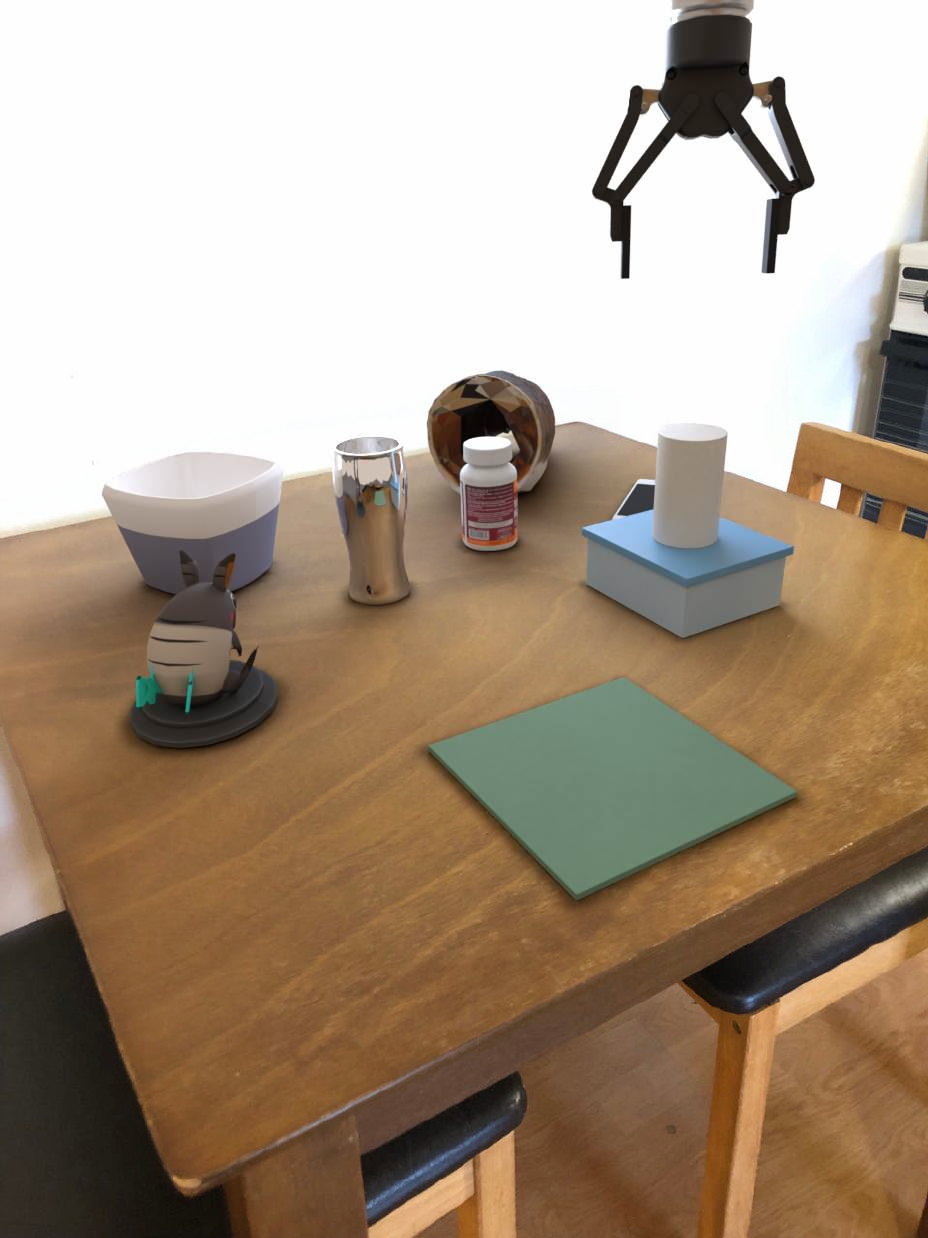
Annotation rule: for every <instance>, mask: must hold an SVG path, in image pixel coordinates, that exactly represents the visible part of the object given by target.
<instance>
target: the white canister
mask: <svg viewBox="0 0 928 1238" xmlns="http://www.w3.org/2000/svg"><path fill="white" fill-rule="evenodd" d="M727 445H728V431H727V430H726V429H725V428H723V427H721V426H718V425H714V424H707V423H699V422H698V423H697V422H681V423H673V424H668V425H664V426H662V427H660V428H659V429H658V432H657V446H656V447H657V448H656V462H655V463H656V465H655V479H654V480H655V495H654V511H653V527H652V537H653V539H654V540H655V541H657V542H659V543H661V544H663V545H666V546H670V547H676V548H701V547H706V546H709V545H712V544H714V543H715V542H716V541H717V539H718V529H719V518H720V517H721V506H722V497H723V485H724V474H725V465H726V454H727Z"/></svg>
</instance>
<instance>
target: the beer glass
mask: <svg viewBox="0 0 928 1238" xmlns="http://www.w3.org/2000/svg"><path fill="white" fill-rule="evenodd" d="M331 451H332V483H333V495H334V501H335V508H336V512H337V517H338V520H339V523H340V527H341V531H342V534H343V537H344V542H345V545H346V549H347V552H348V558H349V569H350V570H349V581H348V596H349V597H350V599H351V600H353V601H355V602H356V603H359V604H363V605H368V606H369V605H370V606H371V605H373V606H377V605H378V606H380V605H387V604H392V603H396V602H399V601H401V600H403V599H405V598H406V597H407V596H409V593H410V591H411V585H410V581H409V577H408V574H407V570H406V566H405V554H404V553H405V549H404V548H405V540H406V539H405V538H406V530H407V529H406V528H407V523H408V512H409V511H408V508H409V484H408V483H409V482H408V473H407V466H406V458H405V451H404V442H403V441H402V440H401V439H400V438H397V437H393V436H389V435H377V434H376V435H359V436H352V437H349V438H344V439H341V440H338V441H337V442H335V443H333V445H332V447H331Z"/></svg>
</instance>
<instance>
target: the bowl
mask: <svg viewBox="0 0 928 1238" xmlns="http://www.w3.org/2000/svg"><path fill="white" fill-rule="evenodd" d="M283 477H284V470H283V468H282V466H281V465H280V464H279V463H278V462H277V461H275V460H273V459H272V460H271V459H269V458H265V457H260V456H256V455H250V454H244V453H237V452H236V453H235V452H225V451H208V450H186V451H182V452H178V453H174V454H169V455H167V456H163V457H160V458H157V459H154V460H151V461H148V462H145V463H143V464H140V465H138V466H135V467H132V468H130V469H128V470H126V471H124V472H122V473H119V474H117V475H116V476H114V477H112V478H111V479H109V480H108V481H107V482H105V484H104V485H103V488H102V490H101V496H102V498H103V500H104V502H105V504H106V506H107V509H108V510H109V512H110V514H111V517H112V519H113V520H114V523H115V524H116V525H117V528H118V530H119V532H120V534H121V535H122V538H123V540H124V542H125V544H126V546H127V548H128V550H129V552H130V554H131V556H132V558H133V560H134V562H135V565H136V566H137V568H138V571H139V572H140V574H141V577H142V579H143V581H144V583H145V584H146V585H148V586H149V587H152V588H154V589H157V590H159V591H163V592H165V593H169V594H173V595H177V594H178V593H180V592H181V591H183V590H184V589H186V588H187V587H186V585H185V582H184V579H183V575H182V572H181V566H180V554H179V551H180V550H183V551H185V552H186V553H187V554H188V555H189V556H190V557H191V558H193V559H194V560H195V561H196V563H197V564H198V567H199V574H200V582H201V583H206V582H210V583H213V575H214V570H215V568H216V566H217V564H218V563H219V562H220V561H221V560H223V559H224V558H225V557H227V556H228V555H230V554H232V553H235V554H236V557H235V562H234V568H233V572H232V576H231V579H230V582H229V586H228V590H229V591H230V592H231V593H233V592H234V591H237V590H239V589H241V588H243V587H245V586H247V585H248V584H250V583H252V582H254V581H256V580H257V579H258V578H260V577H261V576H262V575H263V574H264V573H265V572H266V571H267V570H269V569H270V567H271V566H272V564H273V559H274V558H273V557H274V551H275V550H274V549H275V543H276V542H275V541H276V534H277V525H278V517H279V507H280V502H281V494H282V487H283V486H282V485H283Z"/></svg>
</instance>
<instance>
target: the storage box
mask: <svg viewBox="0 0 928 1238" xmlns="http://www.w3.org/2000/svg"><path fill="white" fill-rule="evenodd" d="M653 511H654V509H653V510H649V511H645V512H641V513H638V514H634V515H630V516H626V517H622V518H618V519H614V520H612V519H610V520H606V521H603V522H598V523H595V524H591V525H586V526H584V527H581V535H582V536H583V537H584V538H587V553H586V582H585V583H586V585H587V586H589V587H591V588H593V589H594V590H596V591H598V592H599V593H601V594H603V595H605V596H607V597H608V598H610V599H612V600H614V601H616V602H617V603H618V604H621V605H622V606H624V607H627V609H630V610H631V611H633V612H635V613H637V614H639V615H640V616H642V617H644V618H646V619H647V620H649V621H651V622H652V623H655V624H656V625H658V626H660V627H661V628H663V629H665V630H666V631H669V632H671V633H673V634H674V635H676V636H678V637H679V638H681V639H685V638H688V637H691V636H693V635H697V634H700V633H702V632H705V631H708V630H711V629H715V628H718V627H720V626H723V625H726V624H729V623H732V622H735V621H737V620H742V619H743V618H746V617H749V616H752V615H756V614H759V613H762V612H765V611H767V610H770V609H772V608H773V609H774V608H776V607H779V606H780V605H781V599H782V590H783V585H784V583H783V582H784V577H785V575H784V574H785V567H786V560H787V557H789V556H792V555H794V551H795V550H794V549H795V546H794V545H791V544H789V543H787V542H784V541H781V540H779V539H776V538H774V537H771V536H769V535H766V534H763V533H761V532H759V531H756V530H753V529H751V528H749V527H746V526H744V525H741V524H739V523H736V522H735V521H734V522H733V521H731V520H729V519H726V518H724V517H721V516H720V518H719V529H718V539H717V541H716V542H715V543H714V544H712V545H709V546H706V547H701V548H676V547H670V546H666V545H663V544H661V543H659V542H657V541H655V540H654V539H653V537H652V527H653Z"/></svg>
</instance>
